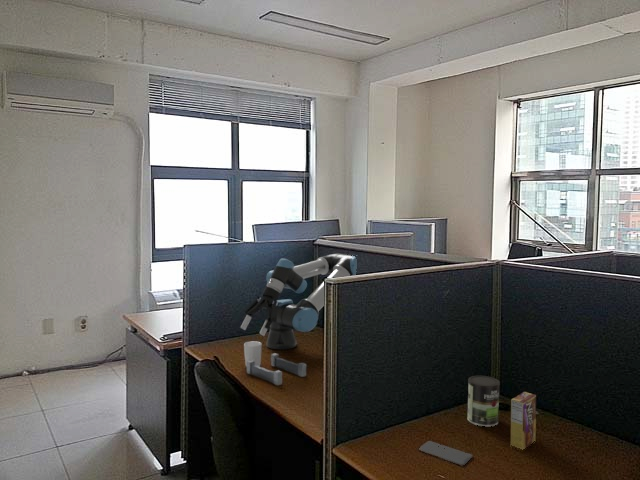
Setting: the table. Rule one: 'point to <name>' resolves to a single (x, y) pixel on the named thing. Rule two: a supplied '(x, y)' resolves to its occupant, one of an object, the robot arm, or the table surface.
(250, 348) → the white cup
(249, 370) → the channel guide
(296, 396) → the table surface
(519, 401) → the candy box
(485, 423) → the coffee can
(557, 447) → the table surface
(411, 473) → the table surface
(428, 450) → the smartphone
